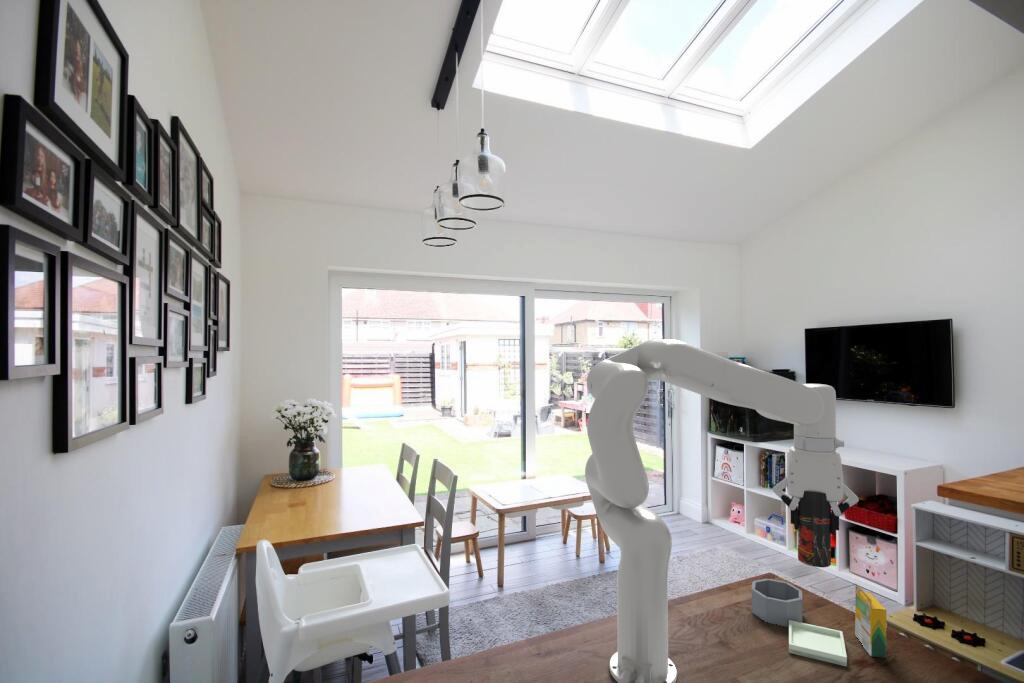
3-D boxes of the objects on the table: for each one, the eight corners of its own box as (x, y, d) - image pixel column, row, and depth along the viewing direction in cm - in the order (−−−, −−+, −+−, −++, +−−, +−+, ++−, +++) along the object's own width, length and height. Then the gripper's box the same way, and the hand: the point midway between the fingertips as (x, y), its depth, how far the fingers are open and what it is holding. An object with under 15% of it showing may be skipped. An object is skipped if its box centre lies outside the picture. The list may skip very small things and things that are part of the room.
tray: (846, 666, 102) (846, 657, 102) (788, 652, 107) (788, 643, 107) (842, 639, 111) (842, 631, 111) (788, 627, 116) (788, 619, 116)
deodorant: (837, 567, 106) (837, 493, 106) (807, 567, 106) (807, 493, 106) (820, 555, 112) (820, 485, 112) (792, 555, 112) (792, 485, 112)
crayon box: (887, 658, 105) (887, 600, 105) (870, 657, 105) (870, 599, 105) (870, 637, 112) (870, 583, 112) (854, 636, 113) (854, 582, 112)
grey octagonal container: (802, 630, 115) (802, 605, 115) (750, 618, 120) (750, 594, 120) (801, 608, 124) (801, 584, 124) (753, 598, 129) (753, 575, 129)
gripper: (861, 444, 108) (861, 531, 108) (768, 437, 116) (768, 518, 116) (866, 451, 102) (866, 544, 102) (767, 443, 109) (767, 529, 110)
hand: (814, 529), depth 109 cm, fingers closed on deodorant, 6 cm apart
